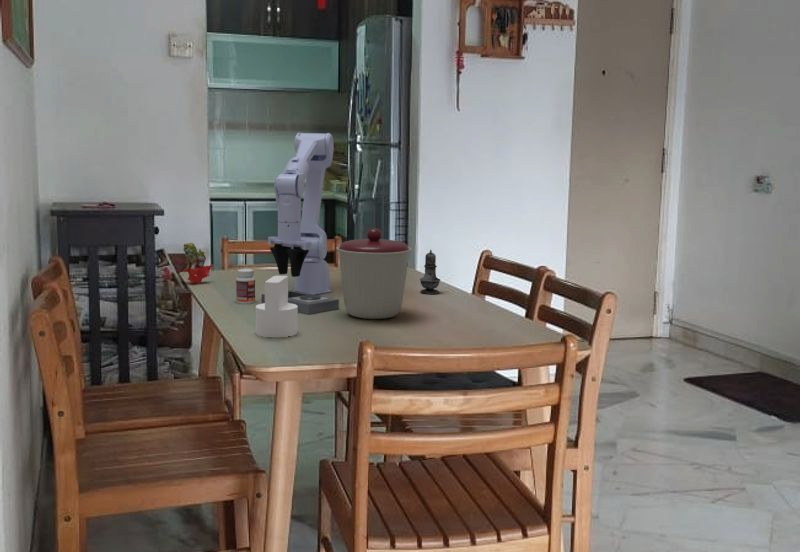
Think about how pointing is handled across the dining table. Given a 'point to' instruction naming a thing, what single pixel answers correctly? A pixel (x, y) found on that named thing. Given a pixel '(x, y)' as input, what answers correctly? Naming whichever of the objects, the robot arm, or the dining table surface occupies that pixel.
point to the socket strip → (310, 302)
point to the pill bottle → (245, 286)
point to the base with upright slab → (276, 310)
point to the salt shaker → (430, 275)
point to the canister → (373, 275)
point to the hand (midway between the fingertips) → (289, 275)
